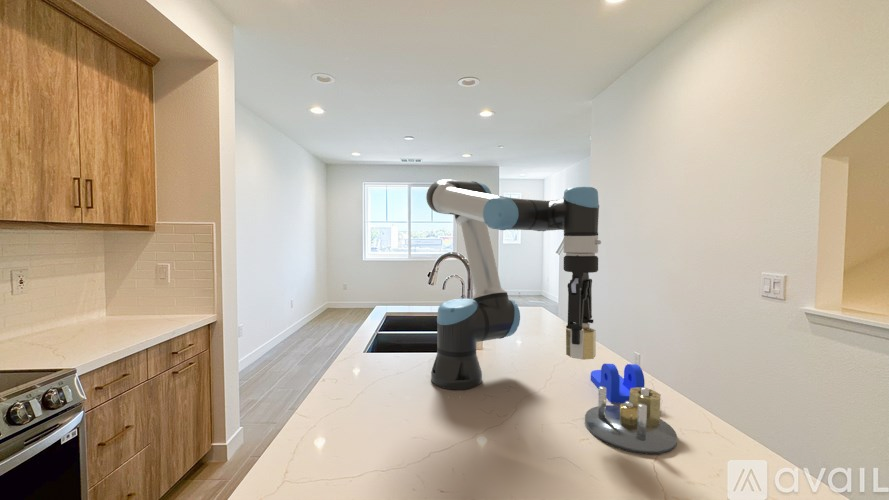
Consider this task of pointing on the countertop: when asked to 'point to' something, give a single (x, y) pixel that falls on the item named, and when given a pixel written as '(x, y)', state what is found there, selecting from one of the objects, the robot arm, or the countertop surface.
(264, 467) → the countertop surface
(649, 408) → the carrier
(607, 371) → the bracket
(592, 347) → the octagonal wooden tube
